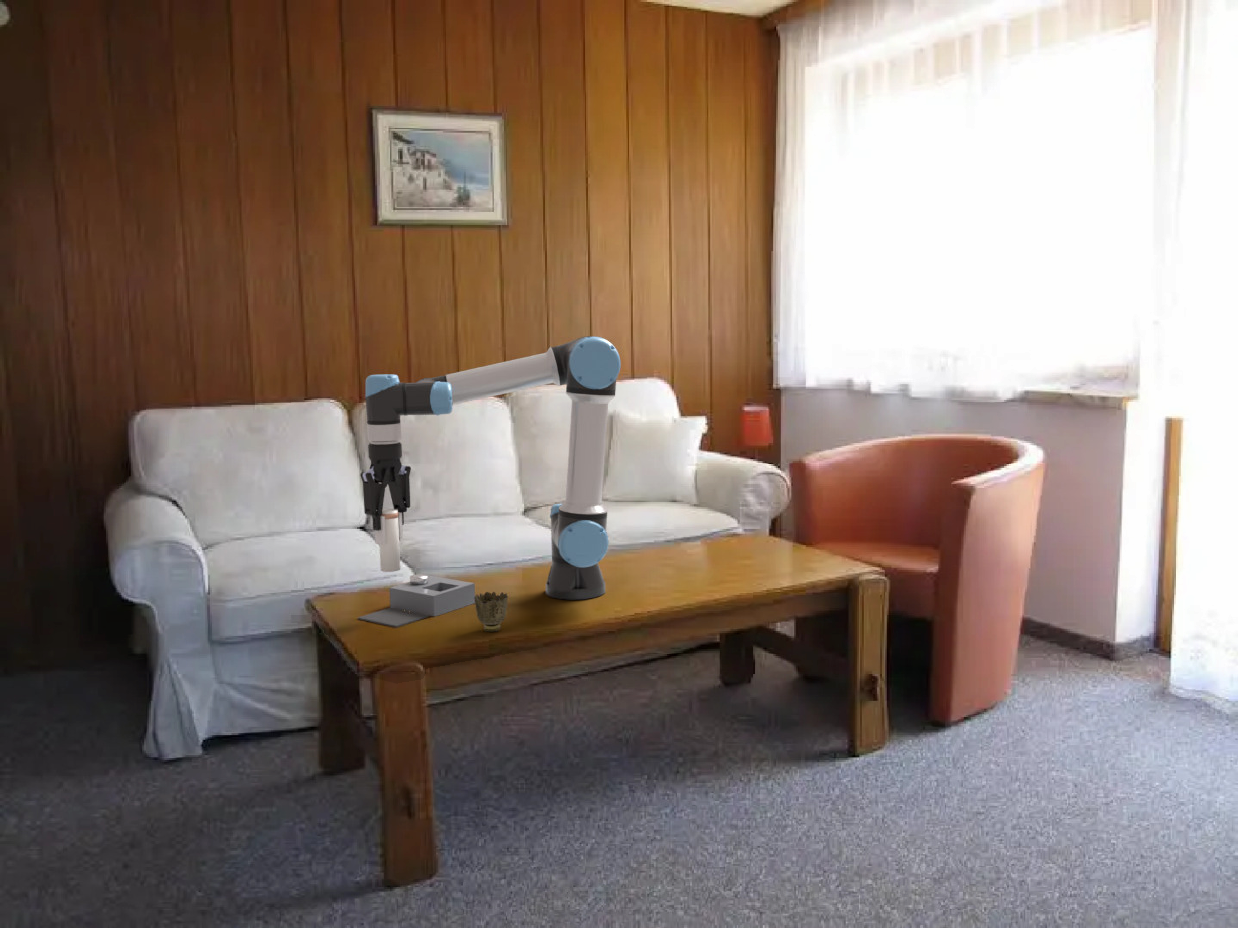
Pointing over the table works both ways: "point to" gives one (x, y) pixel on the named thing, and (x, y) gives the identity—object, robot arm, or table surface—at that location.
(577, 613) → the table surface
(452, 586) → the housing
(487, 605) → the cup
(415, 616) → the mat
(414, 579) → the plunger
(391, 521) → the cylinder
